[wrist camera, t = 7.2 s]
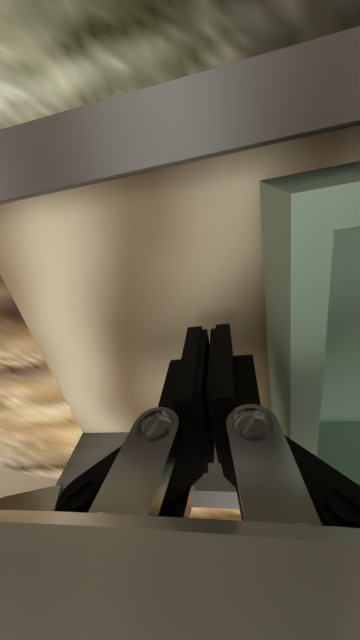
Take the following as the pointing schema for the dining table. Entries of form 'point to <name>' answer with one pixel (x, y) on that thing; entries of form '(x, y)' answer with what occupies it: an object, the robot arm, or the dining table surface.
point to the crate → (315, 309)
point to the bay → (162, 225)
